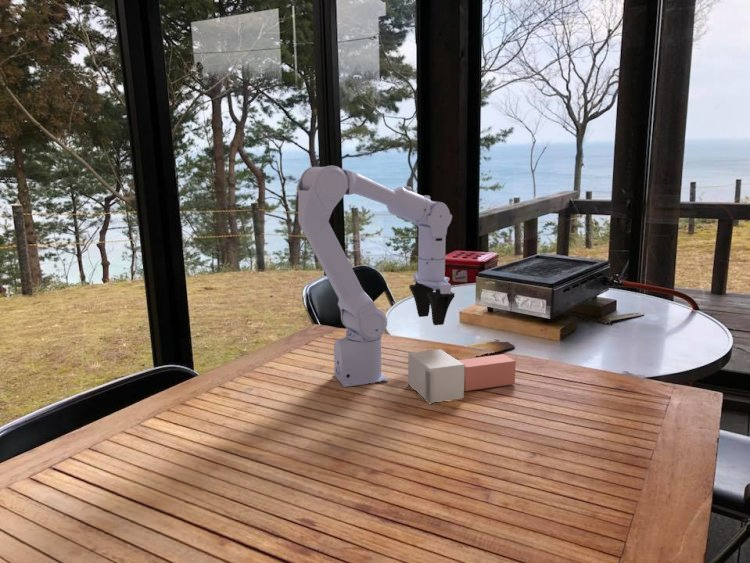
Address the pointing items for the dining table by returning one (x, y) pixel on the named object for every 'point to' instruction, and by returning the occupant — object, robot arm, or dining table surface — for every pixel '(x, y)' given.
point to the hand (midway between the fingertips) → (430, 320)
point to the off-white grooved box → (436, 375)
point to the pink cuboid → (488, 372)
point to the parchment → (491, 345)
